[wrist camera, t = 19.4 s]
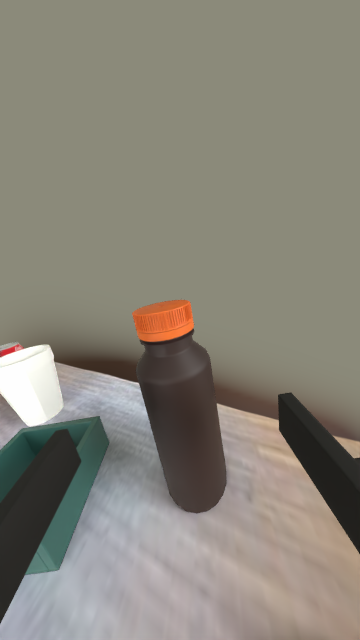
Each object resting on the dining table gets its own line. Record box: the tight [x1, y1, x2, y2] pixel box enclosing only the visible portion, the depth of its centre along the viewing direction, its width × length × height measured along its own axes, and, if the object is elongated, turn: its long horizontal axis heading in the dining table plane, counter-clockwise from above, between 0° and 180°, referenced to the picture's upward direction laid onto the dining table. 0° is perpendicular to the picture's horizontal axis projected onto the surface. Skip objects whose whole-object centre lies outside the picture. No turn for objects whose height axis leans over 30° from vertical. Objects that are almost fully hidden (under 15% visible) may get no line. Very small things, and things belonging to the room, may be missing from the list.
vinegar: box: [132, 300, 226, 513], centre depth 17 cm, size 7×7×20 cm
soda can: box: [0, 342, 24, 357], centre depth 47 cm, size 7×7×12 cm
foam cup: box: [0, 345, 64, 427], centre depth 34 cm, size 10×9×13 cm
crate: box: [0, 416, 109, 575], centre depth 20 cm, size 12×12×5 cm
